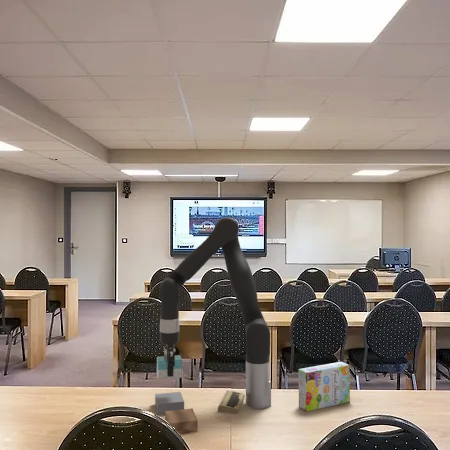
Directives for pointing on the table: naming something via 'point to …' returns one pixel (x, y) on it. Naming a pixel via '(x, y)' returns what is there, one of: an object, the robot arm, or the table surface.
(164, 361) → the housing
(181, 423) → the stand
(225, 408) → the computer
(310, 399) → the snack box
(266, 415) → the table surface
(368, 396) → the table surface
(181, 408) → the stand
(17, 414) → the table surface
